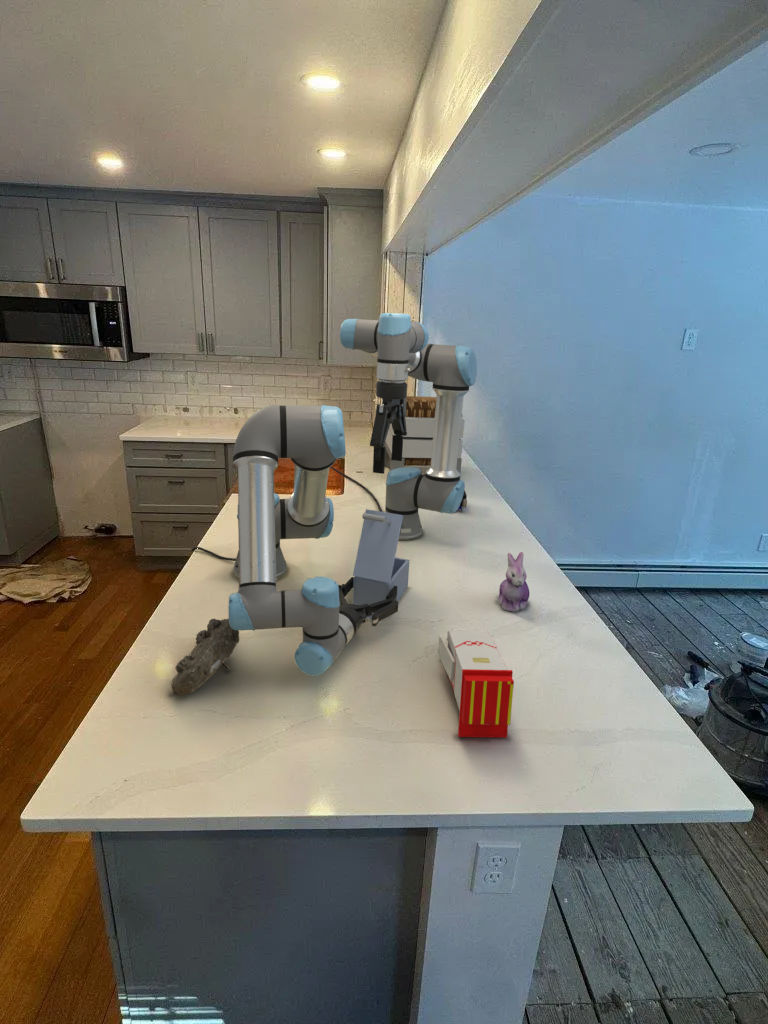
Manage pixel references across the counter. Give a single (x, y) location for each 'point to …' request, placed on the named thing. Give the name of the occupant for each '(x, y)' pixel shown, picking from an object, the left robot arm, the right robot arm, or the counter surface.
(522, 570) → the figurine
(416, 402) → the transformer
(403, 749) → the counter surface
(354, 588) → the chest
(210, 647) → the fossil
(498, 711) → the toy
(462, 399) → the right robot arm
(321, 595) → the left robot arm
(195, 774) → the counter surface
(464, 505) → the figurine character
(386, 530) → the lid
